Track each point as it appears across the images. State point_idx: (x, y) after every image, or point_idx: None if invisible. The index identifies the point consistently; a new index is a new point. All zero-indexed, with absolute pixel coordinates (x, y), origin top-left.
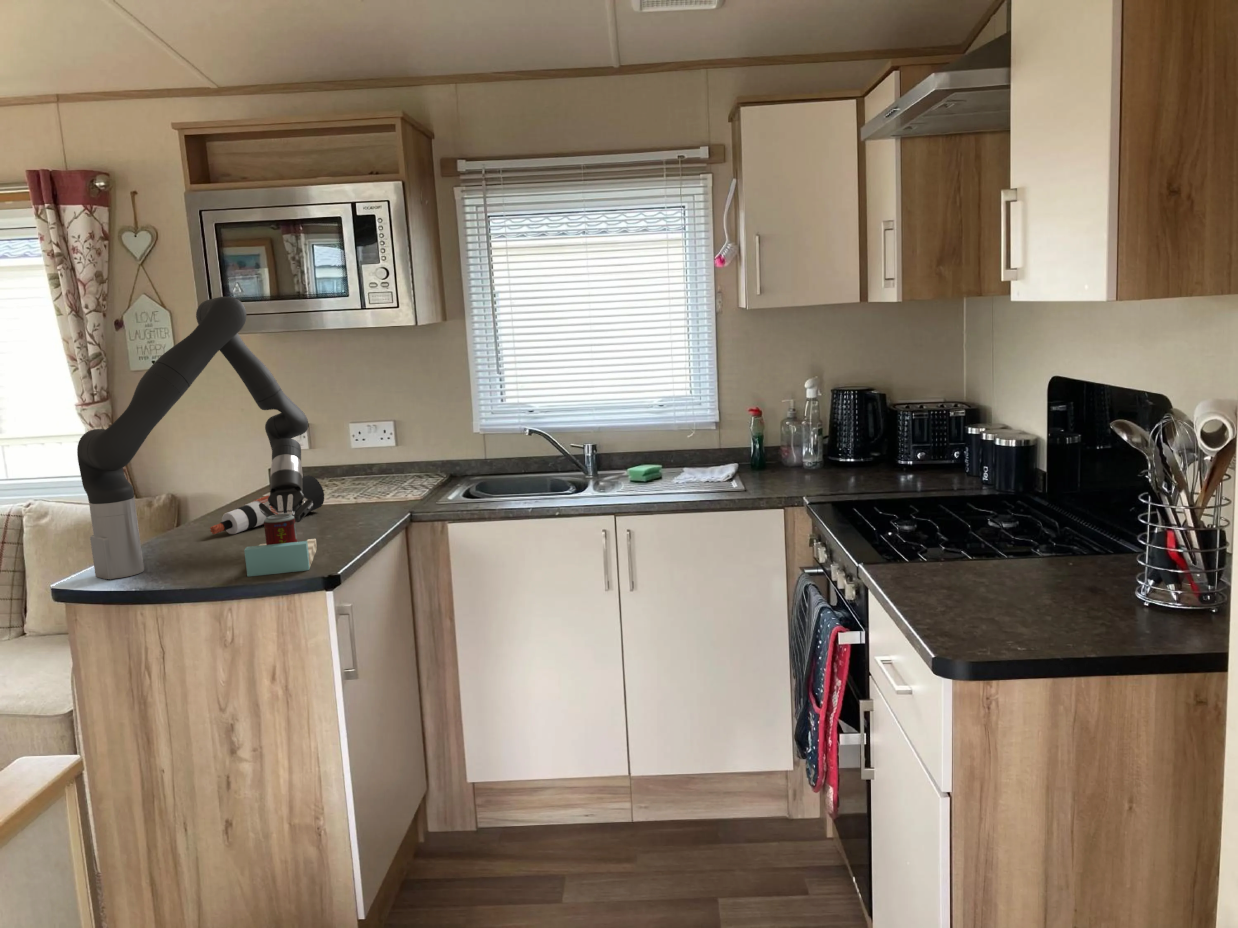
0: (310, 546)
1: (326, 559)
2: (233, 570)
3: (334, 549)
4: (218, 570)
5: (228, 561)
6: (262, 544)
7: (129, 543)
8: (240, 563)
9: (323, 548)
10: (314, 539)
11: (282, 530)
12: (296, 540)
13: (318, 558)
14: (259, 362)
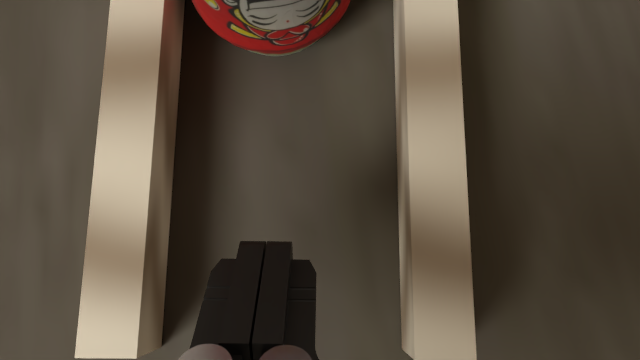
0: (114, 117)
1: (61, 42)
2: (534, 16)
3: (3, 273)
4: (618, 49)
5: (621, 243)
6: (452, 339)
7: None
8: (533, 158)
9: (68, 336)
10: (85, 333)
11: None
12: None
13: None
14: None
